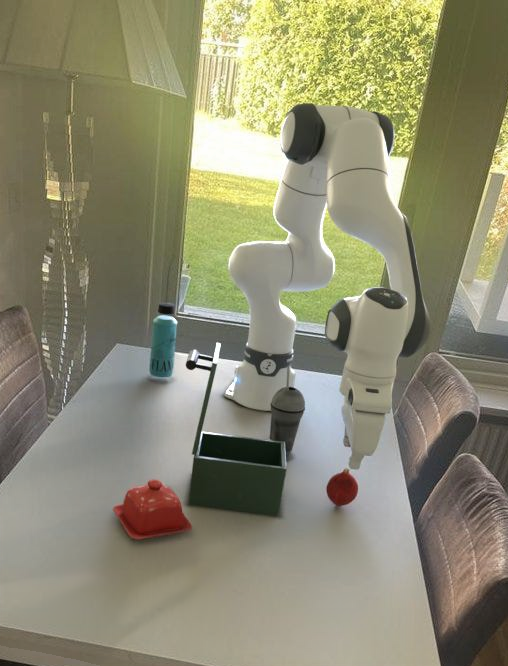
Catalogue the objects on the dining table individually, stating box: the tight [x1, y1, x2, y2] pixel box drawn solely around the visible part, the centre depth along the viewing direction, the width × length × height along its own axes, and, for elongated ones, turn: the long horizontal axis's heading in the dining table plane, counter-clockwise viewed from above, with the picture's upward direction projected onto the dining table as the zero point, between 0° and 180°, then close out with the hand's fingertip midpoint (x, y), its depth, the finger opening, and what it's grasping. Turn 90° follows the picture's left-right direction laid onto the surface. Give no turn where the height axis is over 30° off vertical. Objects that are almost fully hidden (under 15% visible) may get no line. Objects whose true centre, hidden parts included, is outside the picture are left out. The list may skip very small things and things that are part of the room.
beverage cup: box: [269, 366, 306, 461], centre depth 145 cm, size 7×7×20 cm
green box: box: [188, 431, 287, 517], centre depth 131 cm, size 17×12×10 cm
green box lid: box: [185, 342, 222, 456], centre depth 124 cm, size 17×12×5 cm
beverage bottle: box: [148, 302, 178, 378], centre depth 180 cm, size 6×7×20 cm
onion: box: [325, 467, 359, 507], centre depth 131 cm, size 6×6×8 cm
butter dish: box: [112, 478, 193, 540], centre depth 119 cm, size 12×12×8 cm
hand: (350, 456), depth 128 cm, fingers open, 8 cm apart
